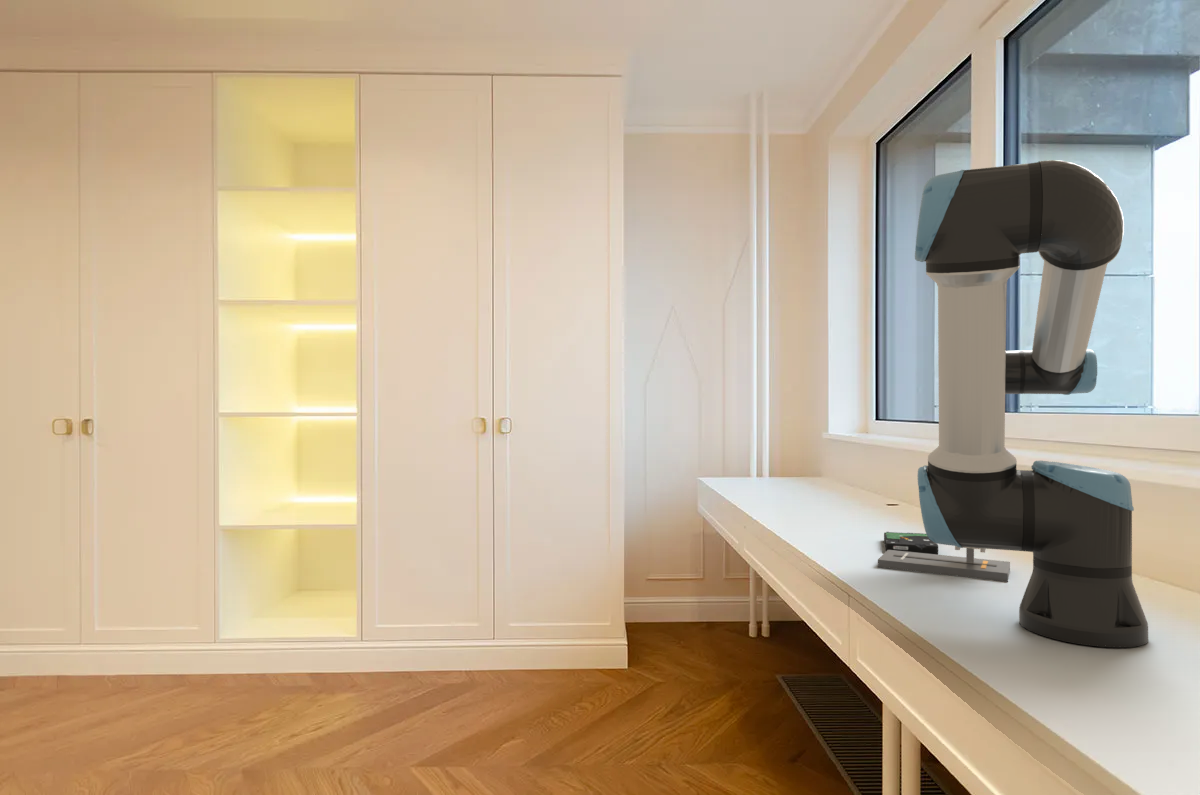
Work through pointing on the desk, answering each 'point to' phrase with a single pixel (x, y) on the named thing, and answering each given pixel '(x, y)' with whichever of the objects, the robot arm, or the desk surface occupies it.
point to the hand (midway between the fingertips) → (970, 549)
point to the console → (945, 565)
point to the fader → (970, 554)
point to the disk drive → (910, 542)
